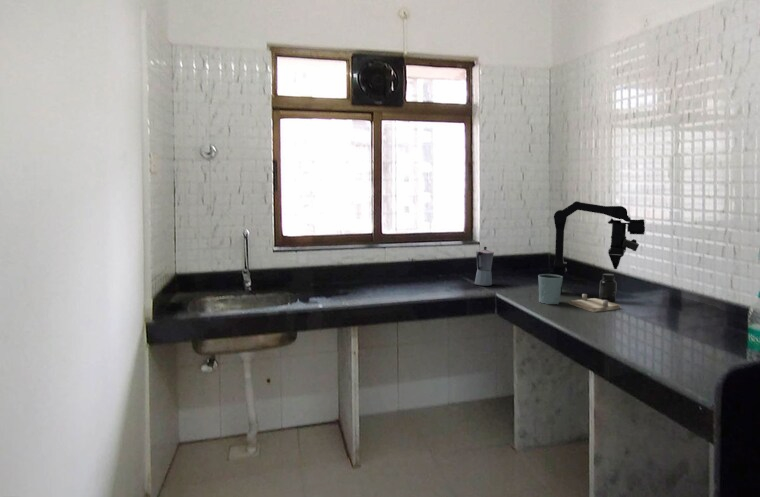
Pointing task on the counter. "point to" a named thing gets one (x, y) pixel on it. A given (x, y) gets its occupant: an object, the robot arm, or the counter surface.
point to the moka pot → (484, 267)
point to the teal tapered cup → (549, 288)
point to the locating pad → (594, 304)
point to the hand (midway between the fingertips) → (616, 267)
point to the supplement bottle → (608, 288)
